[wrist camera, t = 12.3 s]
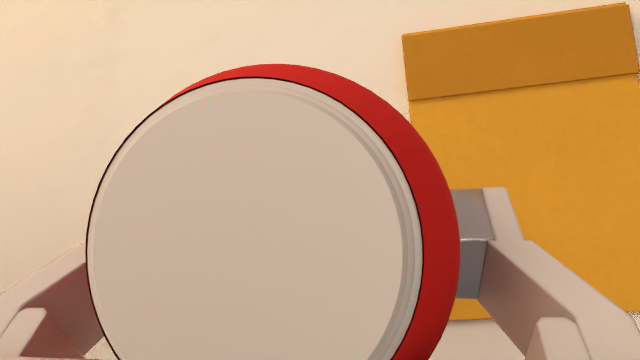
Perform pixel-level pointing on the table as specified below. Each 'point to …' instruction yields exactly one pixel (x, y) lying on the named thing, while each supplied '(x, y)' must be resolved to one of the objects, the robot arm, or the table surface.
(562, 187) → the cloth
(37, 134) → the table surface
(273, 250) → the beverage can
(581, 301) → the robot arm
